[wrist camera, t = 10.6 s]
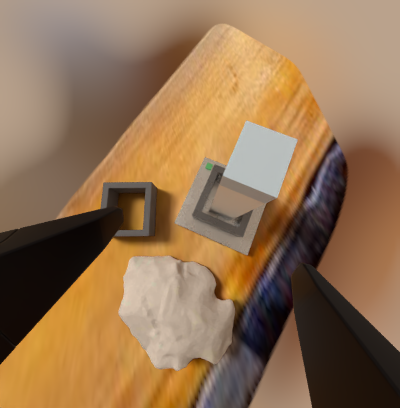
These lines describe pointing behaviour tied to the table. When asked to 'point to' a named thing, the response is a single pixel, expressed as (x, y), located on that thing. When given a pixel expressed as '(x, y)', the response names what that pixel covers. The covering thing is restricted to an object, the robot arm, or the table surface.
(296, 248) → the table surface
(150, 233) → the grey hollow square frame
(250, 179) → the plug
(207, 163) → the port
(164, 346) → the decorative stone
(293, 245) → the table surface
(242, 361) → the table surface
